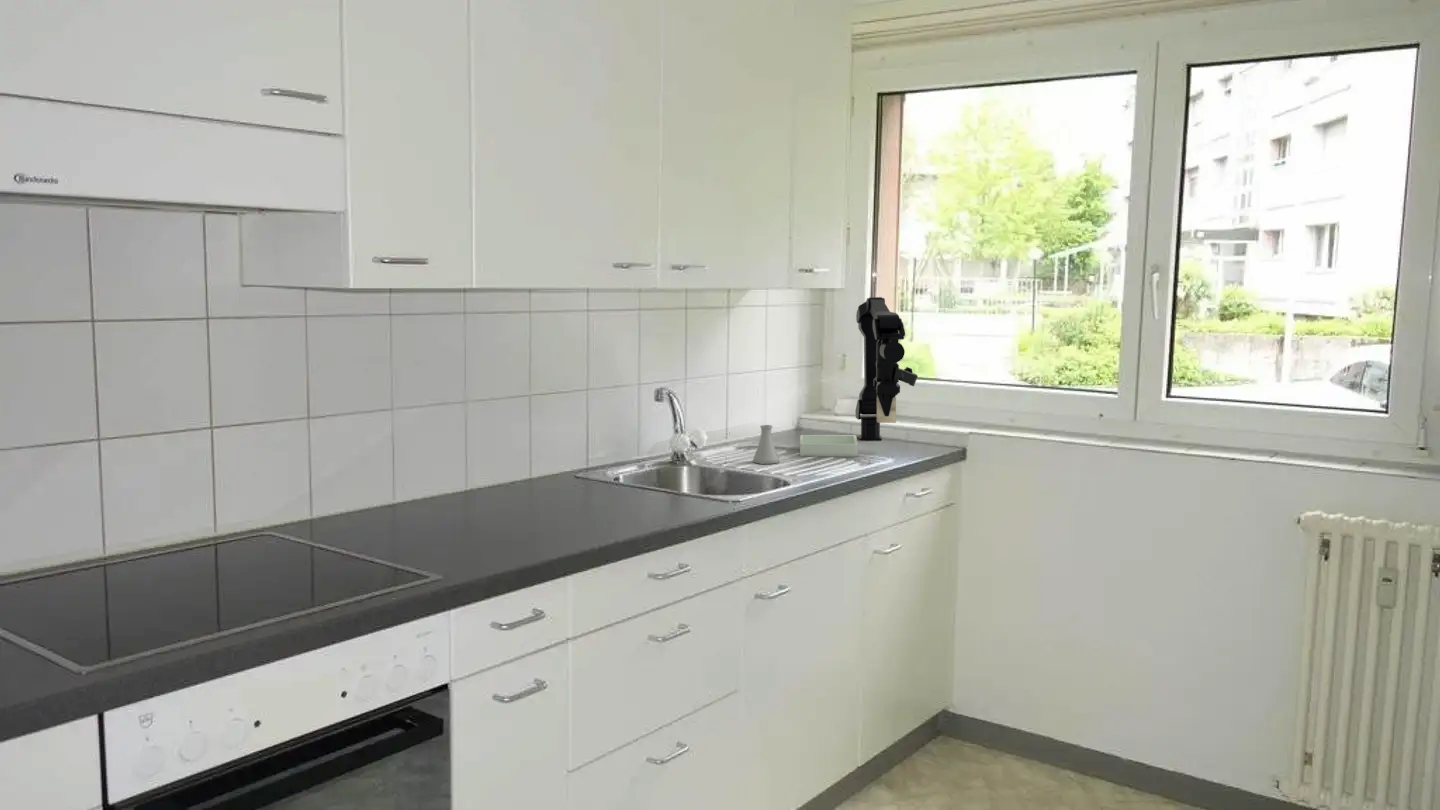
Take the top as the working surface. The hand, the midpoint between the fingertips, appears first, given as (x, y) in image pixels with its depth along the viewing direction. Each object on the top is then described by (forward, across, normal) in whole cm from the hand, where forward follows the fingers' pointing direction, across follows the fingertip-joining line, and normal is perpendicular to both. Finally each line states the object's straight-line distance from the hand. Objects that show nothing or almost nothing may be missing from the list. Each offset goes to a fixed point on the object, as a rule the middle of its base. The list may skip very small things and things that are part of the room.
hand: (886, 414), depth 315 cm
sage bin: (+11, +1, +16) cm, 19 cm away
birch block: (+2, 0, 0) cm, 2 cm away
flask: (+11, -16, +33) cm, 38 cm away
